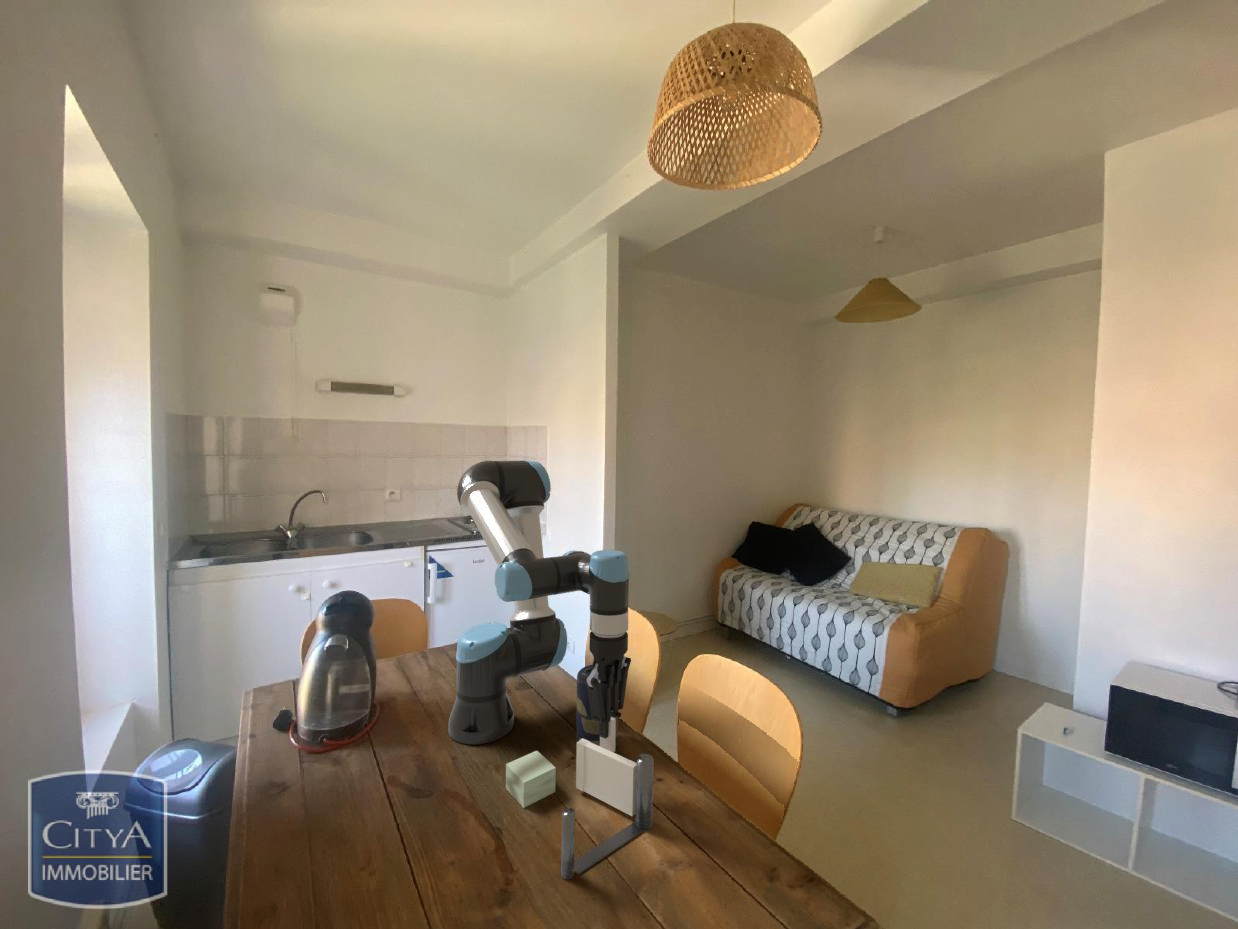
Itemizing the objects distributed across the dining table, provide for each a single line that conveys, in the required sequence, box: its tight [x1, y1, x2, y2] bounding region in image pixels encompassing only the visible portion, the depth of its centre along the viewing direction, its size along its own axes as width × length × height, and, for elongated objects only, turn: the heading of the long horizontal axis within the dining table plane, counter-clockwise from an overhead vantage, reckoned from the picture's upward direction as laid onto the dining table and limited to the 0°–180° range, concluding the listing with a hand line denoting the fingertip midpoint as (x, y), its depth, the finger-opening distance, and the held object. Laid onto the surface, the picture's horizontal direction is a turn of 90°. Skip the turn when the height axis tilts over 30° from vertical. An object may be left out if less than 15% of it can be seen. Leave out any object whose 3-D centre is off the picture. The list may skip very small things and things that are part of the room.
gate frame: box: [560, 753, 655, 881], centre depth 84 cm, size 3×19×12 cm, turn 131°
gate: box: [575, 738, 637, 817], centre depth 94 cm, size 13×2×9 cm, turn 55°
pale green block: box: [505, 750, 557, 809], centre depth 98 cm, size 7×7×5 cm
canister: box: [575, 664, 619, 747], centre depth 112 cm, size 10×10×18 cm
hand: (607, 750), depth 98 cm, fingers closed
